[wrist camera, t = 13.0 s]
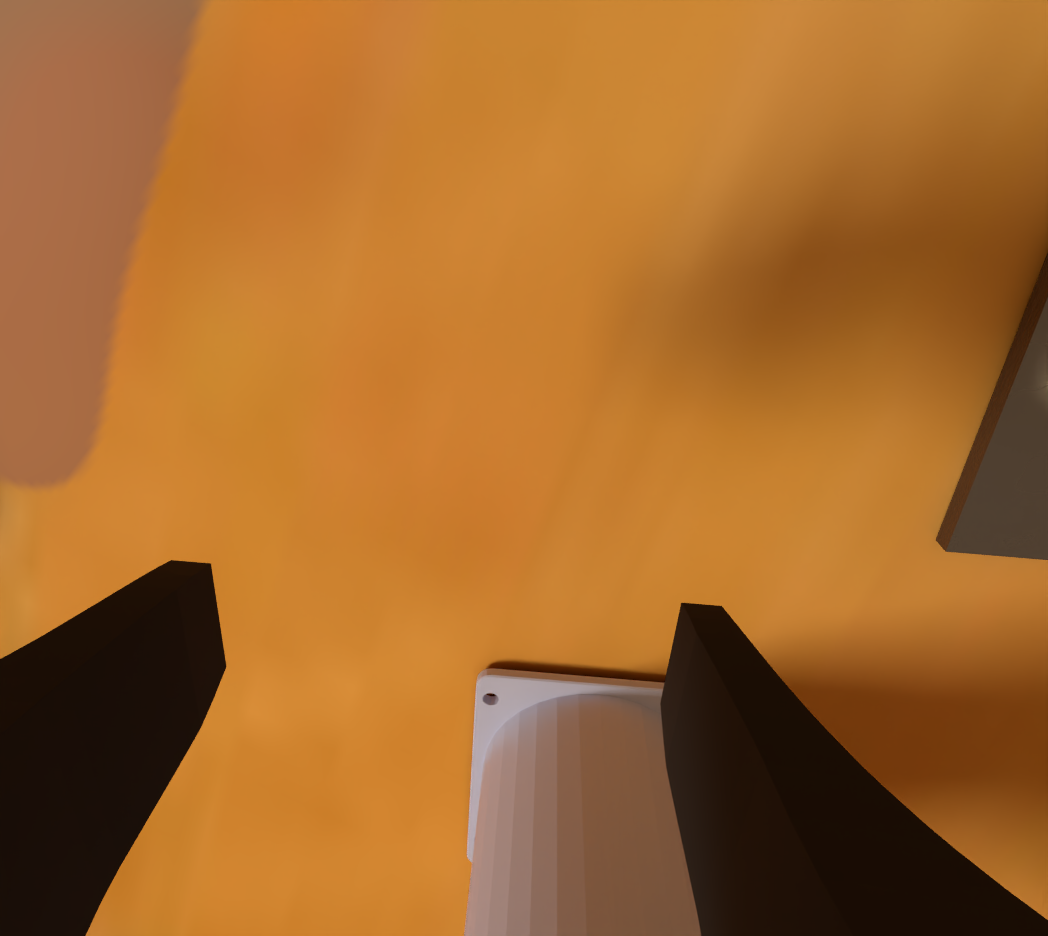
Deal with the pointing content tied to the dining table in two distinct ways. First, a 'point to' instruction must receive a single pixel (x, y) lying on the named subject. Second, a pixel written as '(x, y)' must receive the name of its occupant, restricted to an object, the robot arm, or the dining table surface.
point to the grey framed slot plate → (1009, 454)
